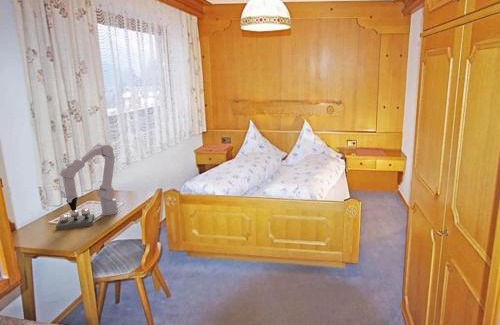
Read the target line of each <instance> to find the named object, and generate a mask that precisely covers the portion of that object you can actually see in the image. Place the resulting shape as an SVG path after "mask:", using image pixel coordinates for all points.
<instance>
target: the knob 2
mask: <svg viewBox="0 0 500 325" xmlns="http://www.w3.org/2000/svg"><path fill="white" fill-rule="evenodd" d="M80 211H81V216H85V219H88V215H90V214H91V212H90V208H89V207H88V208H86V207H85V208H83V209H81V210H80Z"/></svg>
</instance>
